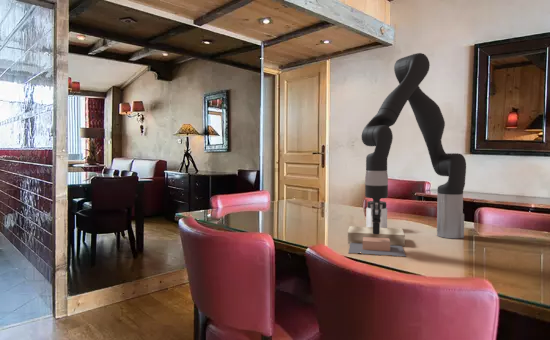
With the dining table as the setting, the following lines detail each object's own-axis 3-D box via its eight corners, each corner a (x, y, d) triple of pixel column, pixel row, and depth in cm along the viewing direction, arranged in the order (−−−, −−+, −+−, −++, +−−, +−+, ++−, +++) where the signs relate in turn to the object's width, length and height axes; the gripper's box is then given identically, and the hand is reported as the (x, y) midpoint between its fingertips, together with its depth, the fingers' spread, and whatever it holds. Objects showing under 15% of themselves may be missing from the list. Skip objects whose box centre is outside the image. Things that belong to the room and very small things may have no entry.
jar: (379, 231, 153) (379, 203, 153) (363, 228, 159) (363, 202, 159) (390, 228, 160) (390, 201, 159) (373, 226, 166) (374, 200, 165)
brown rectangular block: (390, 242, 120) (390, 251, 121) (389, 238, 126) (389, 246, 126) (362, 240, 123) (362, 249, 123) (362, 237, 128) (362, 245, 129)
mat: (401, 246, 128) (401, 245, 128) (405, 257, 114) (405, 256, 114) (350, 243, 133) (350, 242, 133) (348, 253, 119) (348, 252, 119)
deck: (401, 238, 140) (401, 228, 140) (404, 246, 128) (404, 235, 128) (349, 236, 145) (349, 226, 145) (347, 243, 133) (347, 232, 133)
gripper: (388, 185, 116) (388, 238, 116) (386, 182, 129) (386, 230, 129) (365, 185, 118) (364, 237, 118) (365, 182, 130) (365, 229, 131)
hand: (376, 233), depth 124 cm, fingers closed
